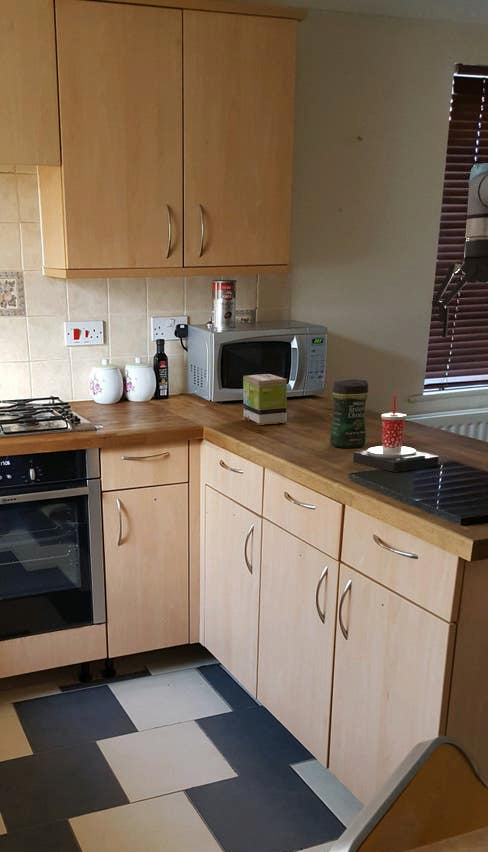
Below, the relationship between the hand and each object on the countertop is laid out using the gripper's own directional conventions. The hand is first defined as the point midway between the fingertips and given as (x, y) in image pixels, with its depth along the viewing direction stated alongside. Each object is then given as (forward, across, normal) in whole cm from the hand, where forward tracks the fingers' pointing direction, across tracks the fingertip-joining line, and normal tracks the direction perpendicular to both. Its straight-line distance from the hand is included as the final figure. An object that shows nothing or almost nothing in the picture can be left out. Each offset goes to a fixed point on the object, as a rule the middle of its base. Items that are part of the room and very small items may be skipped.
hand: (475, 337), depth 203 cm
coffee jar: (+31, +34, -25) cm, 52 cm away
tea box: (+30, +68, -59) cm, 96 cm away
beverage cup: (+28, +18, -5) cm, 34 cm away
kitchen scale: (+31, +17, -4) cm, 36 cm away
